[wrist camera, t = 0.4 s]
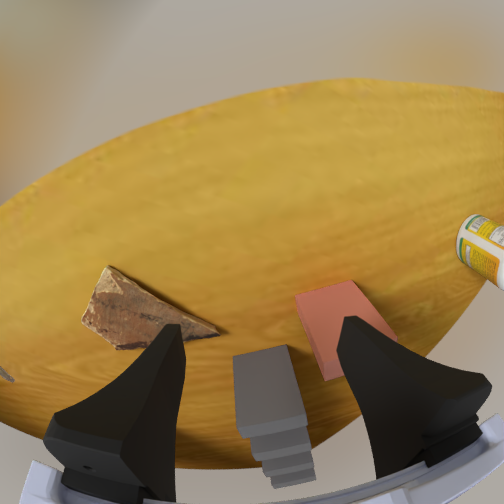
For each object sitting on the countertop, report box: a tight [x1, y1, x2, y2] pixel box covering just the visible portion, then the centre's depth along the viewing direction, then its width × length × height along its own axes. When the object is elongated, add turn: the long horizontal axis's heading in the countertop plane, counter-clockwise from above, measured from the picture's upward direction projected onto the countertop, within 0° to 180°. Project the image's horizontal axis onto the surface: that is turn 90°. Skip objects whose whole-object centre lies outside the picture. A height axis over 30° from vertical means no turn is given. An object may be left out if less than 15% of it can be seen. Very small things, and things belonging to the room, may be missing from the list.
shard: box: [81, 265, 221, 350], centre depth 22 cm, size 11×8×2 cm
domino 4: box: [271, 468, 316, 489], centre depth 27 cm, size 2×5×8 cm, turn 103°
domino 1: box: [233, 345, 308, 438], centre depth 21 cm, size 2×5×8 cm, turn 103°
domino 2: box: [250, 426, 312, 461], centre depth 23 cm, size 2×5×8 cm, turn 103°
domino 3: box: [262, 451, 314, 477], centre depth 25 cm, size 2×5×8 cm, turn 103°
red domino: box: [295, 280, 398, 381], centre depth 19 cm, size 2×5×8 cm, turn 103°
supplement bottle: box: [456, 214, 504, 291], centre depth 18 cm, size 5×5×10 cm
